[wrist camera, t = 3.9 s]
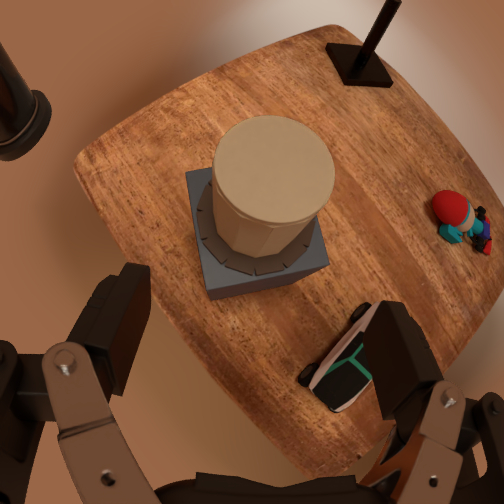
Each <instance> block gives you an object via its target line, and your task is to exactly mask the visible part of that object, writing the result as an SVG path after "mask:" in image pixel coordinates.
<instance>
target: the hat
mask: <svg viewBox="0 0 504 504" xmlns="http://www.w3.org/2000/svg"><path fill="white" fill-rule="evenodd" d="M334 181H335V169H334V163H333V160H332V157H331V154H330V152H329V150H328V148H327V147H326V145H325V144H324V142H323V141H322V140H321V138H320V137H319V136H318V135H317V134H316V133H314V132H313V131H312V130H311V129H309V128H308V127H306V126H305V125H303V124H301V123H299V122H297V121H295V120H292V119H289V118H286V117H281V116H273V115H263V116H256V117H252V118H248V119H246V120H243V121H241V122H239V123H238V124H236V125H235V126H233V127H232V128H231V129H229V130H228V131H227V132H226V133H225V135H224V136H223V137H222V139H221V140H220V142H219V144H218V146H217V148H216V151H215V156H214V160H213V162H212V179H211V180H210V181H209V182H208V184H209V185H206V186H205V188H204V191H203V193H202V196H201V198H200V201H199V203H198V206H197V208H196V209H197V211H199V212H196V216H197V221H198V227H199V233H200V238H201V240H204V241H203V245H204V246H205V247H206V248H207V249H208V250H209V251H210V252H211V254H212V255H213V256H214V257H215V258H216V259H217V260H218V262H219V263H220V264H221V265H222V264H223V263H224V262H225V261H226V263H225V267H227V268H230V269H233V270H236V271H239V272H242V273H245V274H248V275H251V276H252V275H253V273H254V270H255V275H256V276H260V275H264V274H269V273H274V272H279V271H283V270H284V266H285V267H286V268H288V267H290V266H291V265H292V264H293V263H294V262H295V261H296V260H297V259H298V258H299V257H300V256H301V255H302V254H303V253H304V252H306V251H307V248H306V247H309V246H310V242H311V238H312V235H313V231H314V227H315V223H316V221H313V220H314V219H315V218H316V217H315V216H316V214H317V213H318V212H319V211H320V210H321V209H322V208H323V207H324V206H325V205H326V203H327V202H328V198H329V196H330V194H331V192H332V189H333V186H334ZM205 239H206V240H205Z"/></svg>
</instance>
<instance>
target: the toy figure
mask: <svg viewBox="0 0 504 504" xmlns="http://www.w3.org/2000/svg"><path fill="white" fill-rule="evenodd" d="M432 205H433V209H434V211H435V213H436V215H437V217H438V218H439V219H440V220H441V221H442V222H443V224H442V225H441V227H440V230H439V232H440V235H441V236H443V237H444V238H445V239H446V240H448V241H449V242H450V243H451V244H452V243H459V242H463V241H462V240H461V238H460V237H459V236H463V234H462V232H466V231H467V237H469V238H470V239H471V240H472V241H473V242H474V243H475V244H477V245H476V246H475V249H476V250H477V251H478V252H480V253H482V252H484V253H486V254H487V255H490V252H491V244H492V239H491V236H490V221H489V219H488V218H487V217H486V216H485V213H486V210H485V209H484V208H483V207H482V206H479V207H478V208H477V209H473V207H472V205H471V204H470V203H469V201H468V200H467V199H466V198H465V197H464V196H462V195H461V194H459V193H457V192H454V191H450V190H443V191H439V192H437V193H436V194H435V195H434V197H433V200H432ZM474 211H477V212H478V215H477V218H476V217H475V213H474ZM473 233H475V234H476V235H477V237H476V240H477V241H476V240H475V239H474V238H473V237H472V236H473ZM486 239H488V241H487V243H486V245H485V247H484V249H483V248H482V247H483V246H484V244H483V243H484V240H486Z"/></svg>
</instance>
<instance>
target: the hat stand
mask: <svg viewBox="0 0 504 504" xmlns="http://www.w3.org/2000/svg"><path fill="white" fill-rule="evenodd" d="M401 3H402V1H401V0H386V1H385V3H384V5H383V7H382V9H381V11H380V13H379V15H378V17H377V19H376V21H375V23H374V24H373V26H372V28H371V30H370V32H369V34H368V36H367V38H366V40H365V42H364V44H363V45H362V46H359V45H349V44H337V43H327V45H326V48H325V49H326V51H327V53H328V55H329V57H330V58H331V60H332V62H333V64H334V66H335V68H336V70H337V71H338V73H339V75H340V77H341V79H342V81H343V83H344V85H351V86H372V87H386V88H390V87H391V86H392V84H393V83H394V82H393V81H392V79H391V77H390V76H389V74H388V72H387V70H386V69H385V67H384V66H383V64H382V62H381V61H380V59H379V57H378V56H377V54H376V53H375V51H374V50H375V49H376V46H377V45H378V43H379V42H380V40H381V38H382V36H383V35H384V33H385V31H386V29H387V28H388V26H389V24H390V22H391V21H392V19H393V17H394V15H395V13H396V12H397V10H398V8H399V6H400V5H401Z"/></svg>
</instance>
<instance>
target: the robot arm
mask: <svg viewBox="0 0 504 504" xmlns="http://www.w3.org/2000/svg"><path fill="white" fill-rule="evenodd" d="M38 112H39V101H38V99H37V98H36V96H35V95H34V94H33V93H32V92H31V90H30V89H29V87H28V86H27V84H26V82H25V80H24V79H23V78H22V76H21V75H20V73H19V72H18V70H17V69H16V67H15V65H14V64H13V62H12V61H11V59H10V57H9V56H8V54H7V53H6V51H5V49H4V48H3V46H2V44H1V43H0V147H6V146H9V145H11V144H13V143H15V142H16V141H17V140H19V139H20V138H21V137H22V136H23V135H24V134H25V133H26V132H27V131H28V130H29V129H30V127H31V126H32V124H33V123H34V121H35V119H36V117H37V115H38ZM150 310H151V282H150V267H149V266H147V265H141V264H136V263H130V262H127V263H126V264H125V266H124V267H123V269H122V271H121V272H120V274H119V276H115V275H109V276H108V277H106V278H105V279H104V280H102V281H101V282H100V283H99V284H98V285H97V287H96V289H95V290H94V292H93V294H92V297H90V299H89V300H88V302H87V306H85V308H84V309H83V311H82V313H81V314H80V316H79V318H78V320H77V321H76V323H75V325H74V327H73V329H72V331H71V332H70V334H69V336H68V338H67V340H66V341H65V342H61V343H58V344H56V345H54V346H52V347H51V348H49V349H48V350H47V352H46V353H45V354H18V353H17V351H16V349H15V347H14V346H13V345H12V344H11V343H10V342H8V341H4V340H0V504H24V503H25V498H26V493H27V488H28V484H29V479H30V475H31V470H32V467H33V463H34V459H35V455H36V452H37V448H38V444H39V441H40V438H41V434H42V431H43V428H44V425H45V422H46V421H53V422H54V421H55V422H57V425H58V428H59V434H58V436H57V438H58V443H59V447H60V449H61V452H62V455H63V458H64V460H65V463H66V465H67V468H68V470H69V473H70V475H71V478H72V480H73V482H74V485H75V487H76V489H77V491H78V494H79V496H80V498H81V500H82V502H83V504H504V400H503V399H502V398H501V397H500V396H499V395H498V394H496V393H493V392H488V393H486V394H485V395H484V396H483V397H482V398H481V399H480V400H479V401H477V400H473V399H469V398H465V397H464V394H463V392H462V390H461V389H460V388H459V387H458V386H457V385H456V384H454V383H452V382H450V381H447V380H444V378H443V376H442V373H441V371H440V369H439V366H438V364H437V362H436V359H435V357H434V355H433V353H432V350H431V349H429V348H430V346H429V344H428V342H427V340H425V339H426V337H425V335H424V333H423V331H422V329H421V327H420V326H419V325H418V324H417V322H416V321H415V320H414V319H413V318H412V317H410V316H409V314H408V312H407V310H406V307H405V305H404V304H403V303H402V302H395V301H386V300H383V301H381V302H380V304H379V305H378V307H377V309H376V311H375V313H374V315H373V316H372V318H371V320H370V322H369V324H368V326H367V327H366V329H365V331H364V335H363V347H364V350H365V354H366V357H367V361H368V364H369V368H370V372H371V375H372V379H373V383H374V386H375V390H376V394H377V398H378V402H379V406H380V410H381V414H382V418H383V420H393V419H395V420H396V425H395V426H394V427H393V428H392V430H391V432H390V434H389V436H388V438H387V440H386V442H385V444H384V447H383V448H382V450H381V452H380V454H379V456H378V458H377V460H376V462H375V464H374V465H373V467H372V469H371V470H370V471H369V472H368V474H366V475H365V477H364V478H363V479H362V480H361V481H360V483H359V484H358V483H356V479H355V475H349V476H337V477H322V478H317V479H314V480H310V481H307V482H303V483H299V484H295V485H291V486H287V487H273V486H270V485H266V484H262V483H258V482H255V481H251V480H248V479H245V478H241V477H238V476H226V475H217V474H208V473H200V472H196V479H190V480H182V481H178V482H173V483H170V484H167V485H164V486H162V487H160V488H158V489H156V490H154V491H153V489H152V488H151V486H150V484H149V482H148V481H147V479H146V477H145V476H144V474H143V472H142V471H141V469H140V467H139V466H138V463H137V462H136V460H135V458H134V456H133V454H132V453H131V450H130V448H129V447H128V445H127V443H126V441H125V439H124V437H123V435H122V433H121V430H120V428H119V426H118V424H117V422H116V420H115V418H114V416H113V414H112V412H111V410H110V407H109V405H108V404H109V401H110V398H111V395H112V394H114V395H118V396H122V395H123V392H124V389H125V386H126V383H127V379H128V376H129V373H130V370H131V367H132V364H133V361H134V358H135V355H136V352H137V350H138V347H139V344H140V340H141V338H142V335H143V332H144V330H145V327H146V324H147V321H148V318H149V315H150ZM480 441H481V442H482V445H483V449H484V453H485V456H486V460H487V471H486V473H485V474H484V475H483V476H482V477H481V478H479V475H478V470H477V466H476V462H475V458H474V454H473V450H472V447H474V446H475V445H476V444H478V443H479V442H480Z"/></svg>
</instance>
